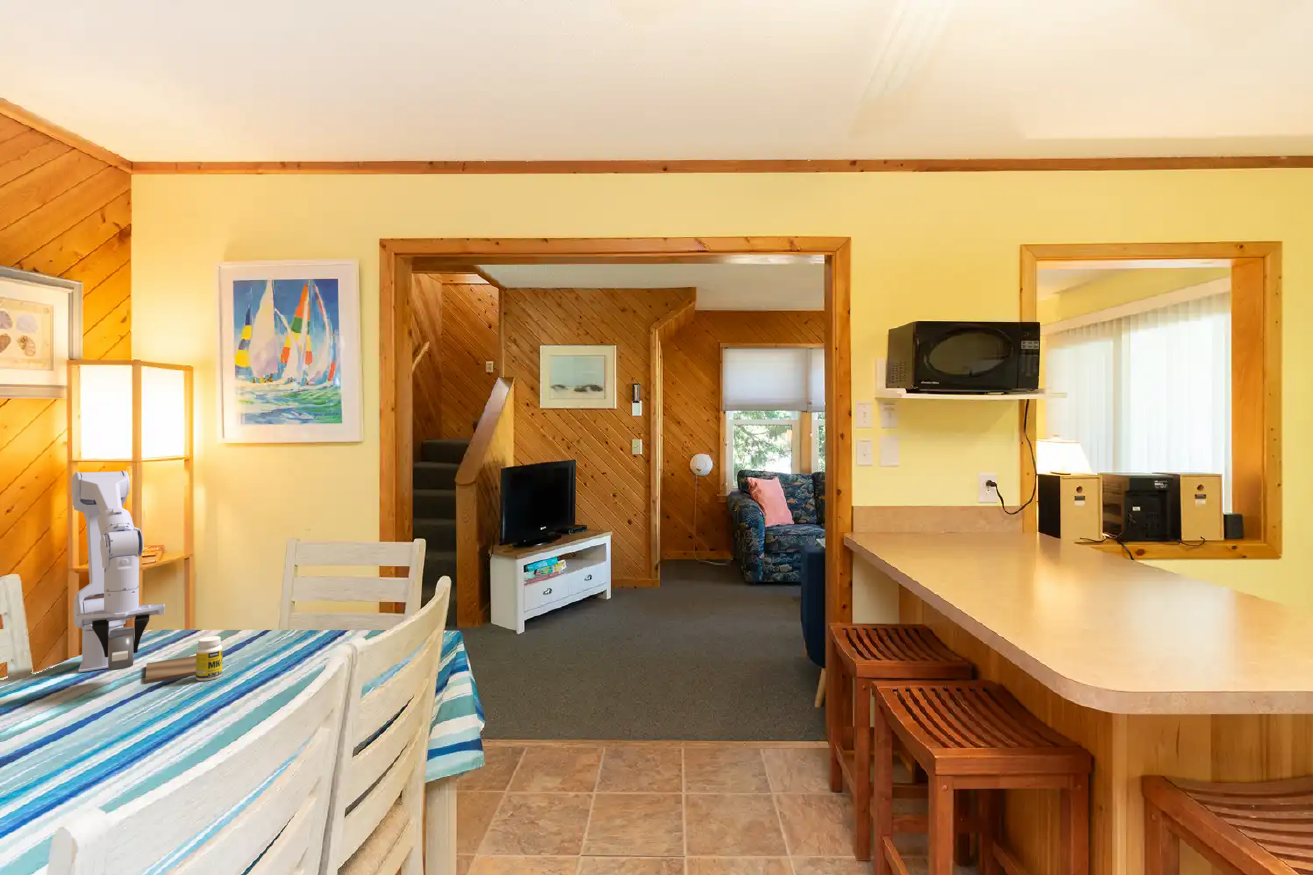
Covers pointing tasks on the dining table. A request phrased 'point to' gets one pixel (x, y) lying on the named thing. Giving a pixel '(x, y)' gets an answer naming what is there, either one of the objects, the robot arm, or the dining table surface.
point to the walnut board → (170, 669)
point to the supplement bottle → (209, 658)
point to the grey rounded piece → (121, 648)
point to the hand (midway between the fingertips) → (121, 653)
